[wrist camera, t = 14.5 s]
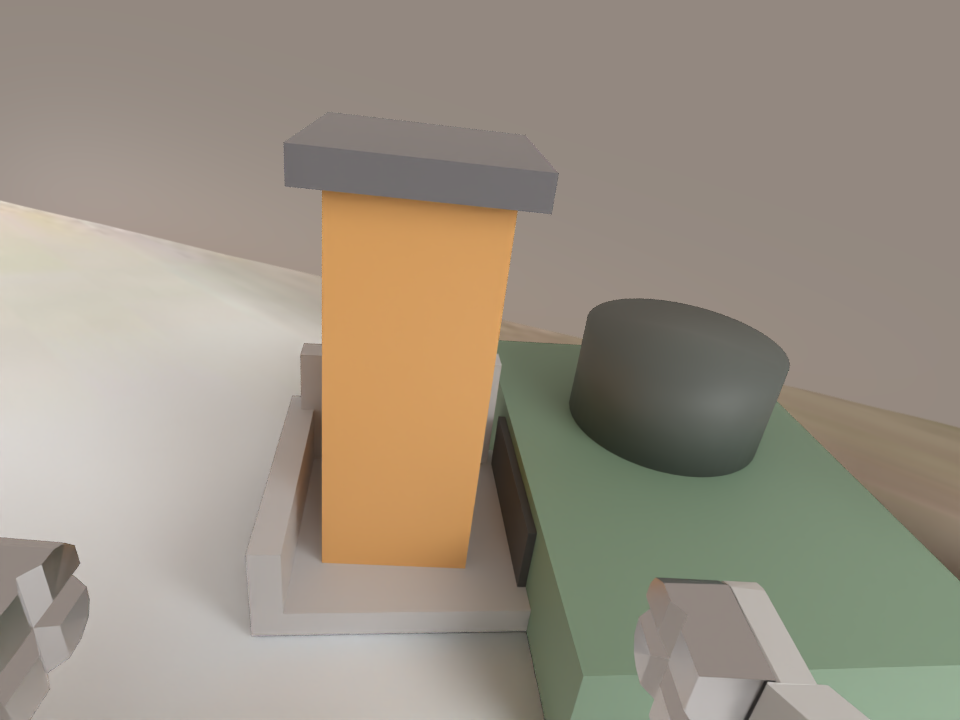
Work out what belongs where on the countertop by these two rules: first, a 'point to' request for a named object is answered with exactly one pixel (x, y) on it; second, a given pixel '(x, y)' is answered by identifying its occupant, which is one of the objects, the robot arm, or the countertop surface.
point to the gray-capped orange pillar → (410, 322)
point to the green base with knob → (632, 522)
